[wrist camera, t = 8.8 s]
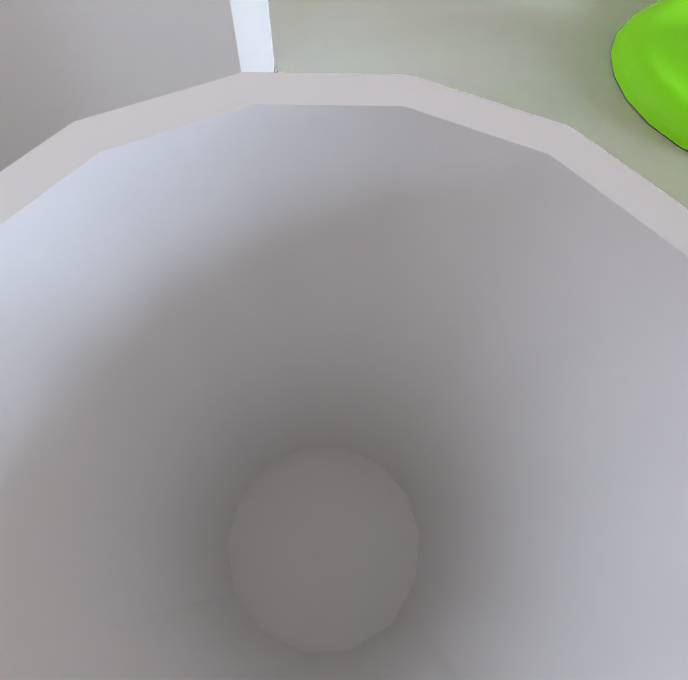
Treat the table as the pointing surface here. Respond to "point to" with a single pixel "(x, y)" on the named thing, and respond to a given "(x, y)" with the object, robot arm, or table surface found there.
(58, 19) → the milk
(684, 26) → the wineglass
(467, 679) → the foam cup
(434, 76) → the table surface
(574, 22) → the table surface
